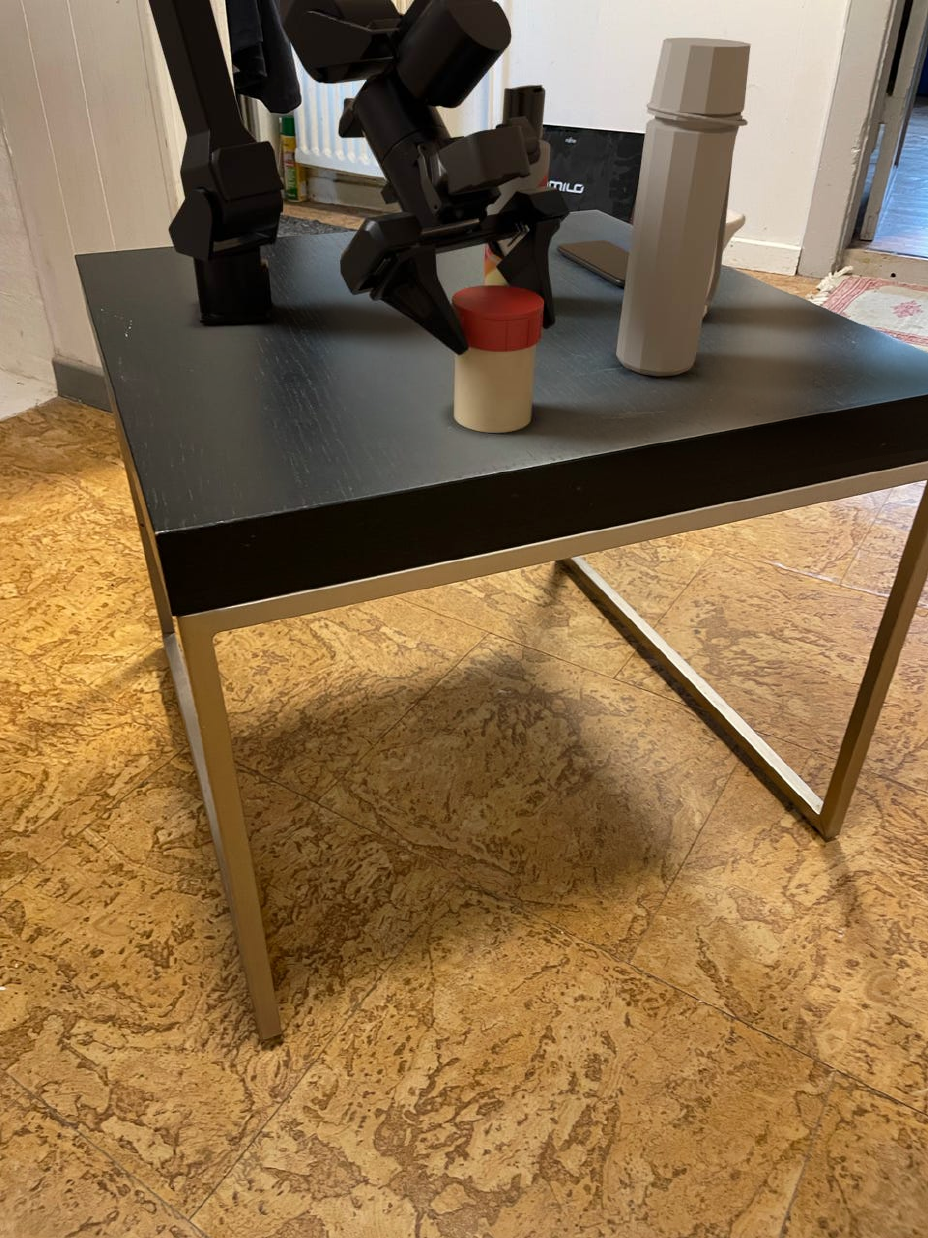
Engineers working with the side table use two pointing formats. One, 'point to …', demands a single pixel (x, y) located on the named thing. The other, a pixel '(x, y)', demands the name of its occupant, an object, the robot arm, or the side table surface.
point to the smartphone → (599, 258)
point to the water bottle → (681, 202)
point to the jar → (494, 389)
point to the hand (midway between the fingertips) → (509, 338)
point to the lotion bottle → (532, 107)
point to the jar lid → (499, 317)
